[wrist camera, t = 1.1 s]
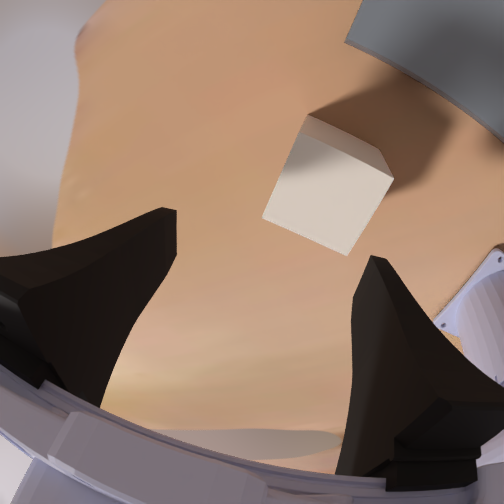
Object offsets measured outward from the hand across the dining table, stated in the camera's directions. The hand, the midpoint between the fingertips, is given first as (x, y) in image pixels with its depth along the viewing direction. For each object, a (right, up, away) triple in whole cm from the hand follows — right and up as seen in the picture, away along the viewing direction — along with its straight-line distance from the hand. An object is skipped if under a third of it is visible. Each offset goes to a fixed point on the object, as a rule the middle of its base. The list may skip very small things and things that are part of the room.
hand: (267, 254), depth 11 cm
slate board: (+12, +13, -1) cm, 18 cm away
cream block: (+4, +5, +6) cm, 9 cm away
